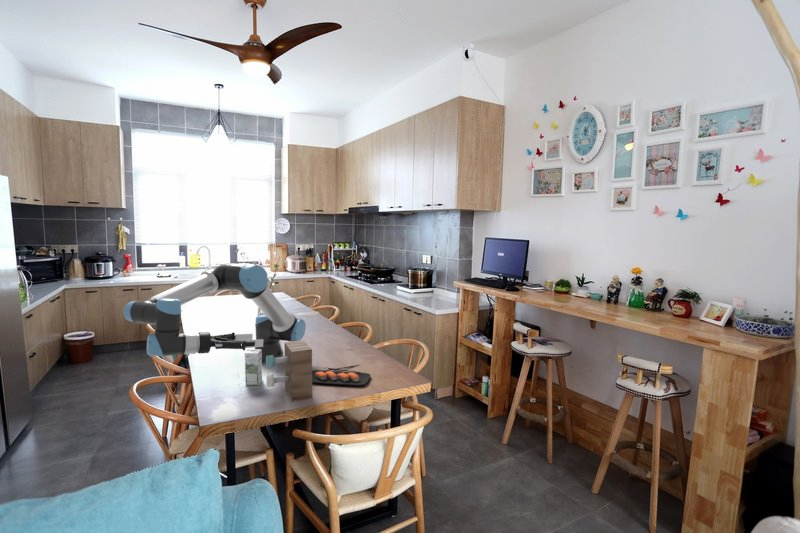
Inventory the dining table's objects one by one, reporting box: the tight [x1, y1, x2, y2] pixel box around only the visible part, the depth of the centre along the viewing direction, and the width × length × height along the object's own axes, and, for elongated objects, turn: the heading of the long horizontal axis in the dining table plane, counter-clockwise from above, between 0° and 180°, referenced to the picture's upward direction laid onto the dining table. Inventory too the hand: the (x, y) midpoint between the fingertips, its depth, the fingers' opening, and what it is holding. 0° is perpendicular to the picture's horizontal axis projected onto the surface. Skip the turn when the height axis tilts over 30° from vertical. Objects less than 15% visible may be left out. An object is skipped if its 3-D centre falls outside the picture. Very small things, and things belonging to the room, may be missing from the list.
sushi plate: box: [312, 364, 371, 387], centre depth 193 cm, size 29×30×4 cm
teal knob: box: [265, 355, 289, 368], centre depth 166 cm, size 5×10×5 cm, turn 116°
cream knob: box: [266, 374, 289, 388], centre depth 167 cm, size 5×10×5 cm, turn 116°
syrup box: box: [244, 348, 263, 386], centre depth 180 cm, size 6×6×14 cm
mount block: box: [284, 339, 313, 402], centre depth 169 cm, size 14×8×20 cm, turn 26°
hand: (257, 340), depth 161 cm, fingers open, 13 cm apart
